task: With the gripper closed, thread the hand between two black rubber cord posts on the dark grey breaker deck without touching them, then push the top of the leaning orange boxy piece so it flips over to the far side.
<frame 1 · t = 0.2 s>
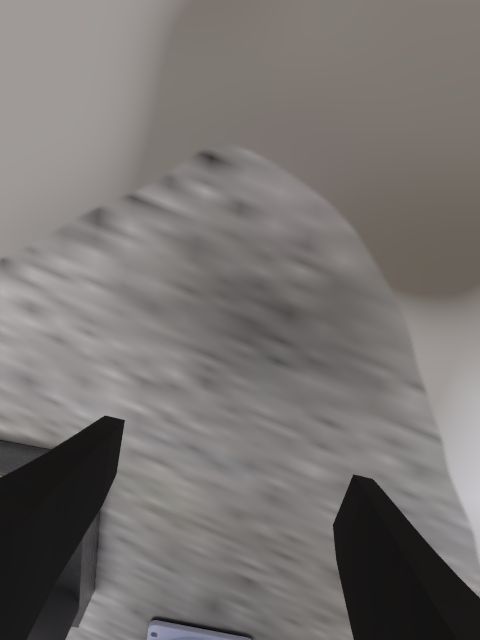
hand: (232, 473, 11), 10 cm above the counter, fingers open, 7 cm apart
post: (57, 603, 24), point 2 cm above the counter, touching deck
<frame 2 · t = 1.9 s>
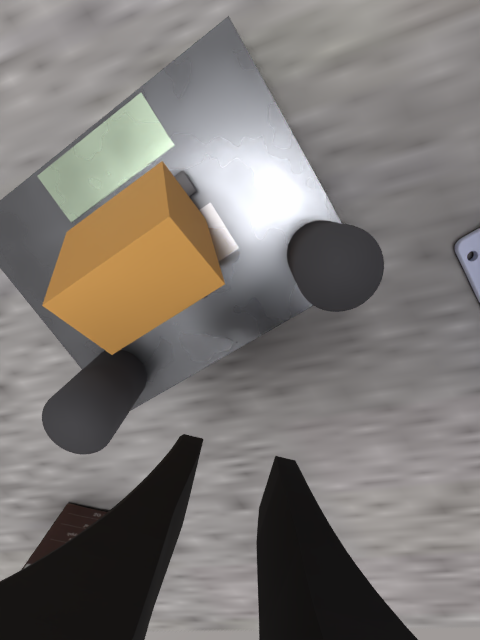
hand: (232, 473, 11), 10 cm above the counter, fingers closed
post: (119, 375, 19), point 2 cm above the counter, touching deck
orange boxy piece: (137, 246, 14), point 5 cm above the counter, hinge at -28.0°
deck: (177, 244, 19), on the counter
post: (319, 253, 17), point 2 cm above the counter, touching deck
box: (106, 527, 26), on the counter
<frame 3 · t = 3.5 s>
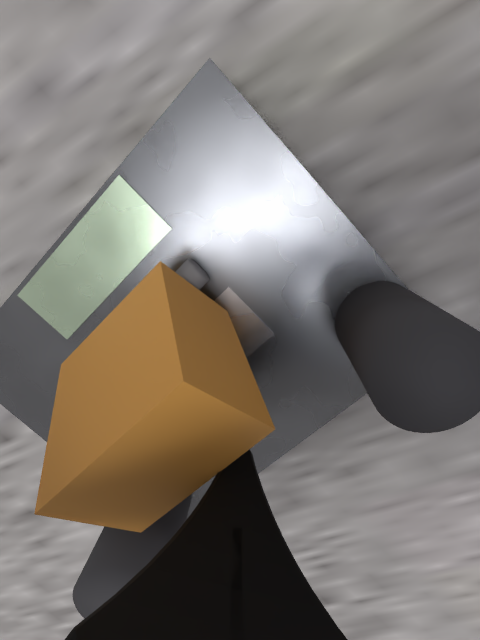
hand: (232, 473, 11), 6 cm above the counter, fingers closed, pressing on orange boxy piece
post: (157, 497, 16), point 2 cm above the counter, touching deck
orange boxy piece: (149, 375, 11), point 5 cm above the counter, hinge at -27.2°, touching gripper
deck: (196, 329, 16), on the counter
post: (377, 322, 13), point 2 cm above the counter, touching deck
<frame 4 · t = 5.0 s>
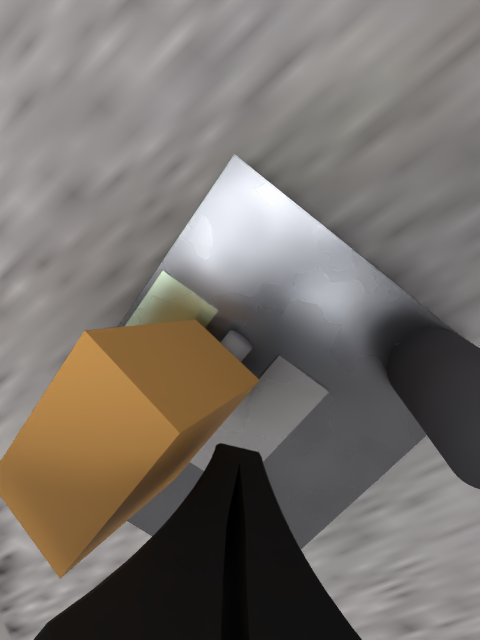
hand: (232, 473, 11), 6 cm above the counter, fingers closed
orange boxy piece: (154, 417, 11), point 6 cm above the counter, hinge at 22.4°
deck: (246, 388, 17), on the counter
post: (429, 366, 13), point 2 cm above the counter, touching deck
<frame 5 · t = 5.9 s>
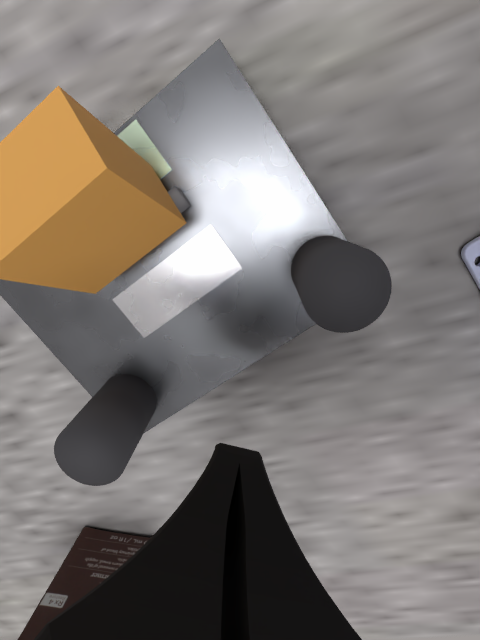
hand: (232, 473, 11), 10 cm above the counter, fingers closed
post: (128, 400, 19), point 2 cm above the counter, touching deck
orange boxy piece: (93, 217, 13), point 6 cm above the counter, hinge at 22.7°
deck: (179, 265, 19), on the counter
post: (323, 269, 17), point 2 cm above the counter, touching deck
box: (124, 548, 26), on the counter
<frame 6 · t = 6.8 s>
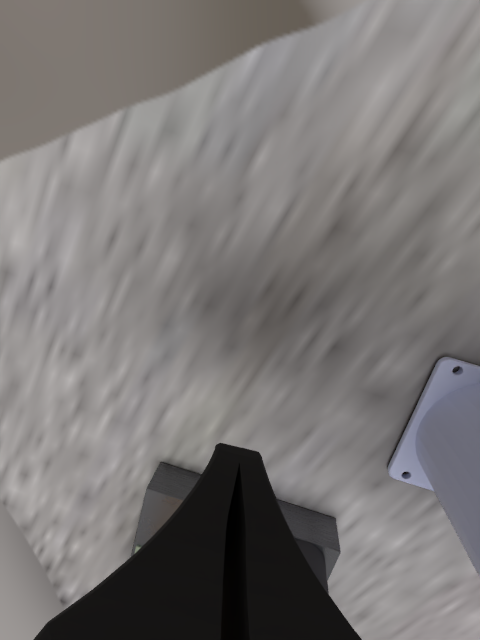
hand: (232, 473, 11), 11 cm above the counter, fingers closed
deck: (219, 571, 26), on the counter
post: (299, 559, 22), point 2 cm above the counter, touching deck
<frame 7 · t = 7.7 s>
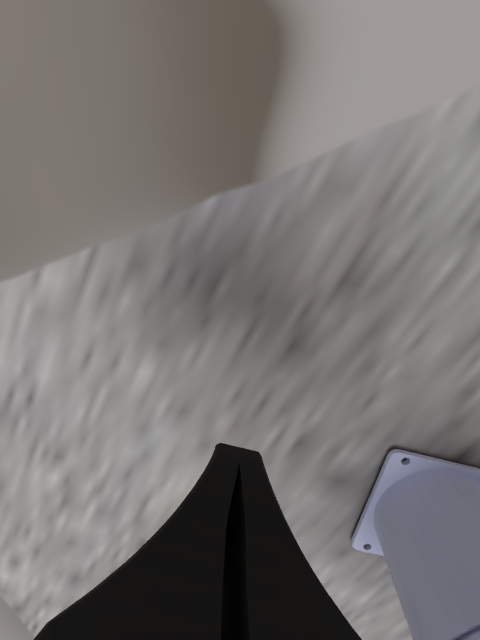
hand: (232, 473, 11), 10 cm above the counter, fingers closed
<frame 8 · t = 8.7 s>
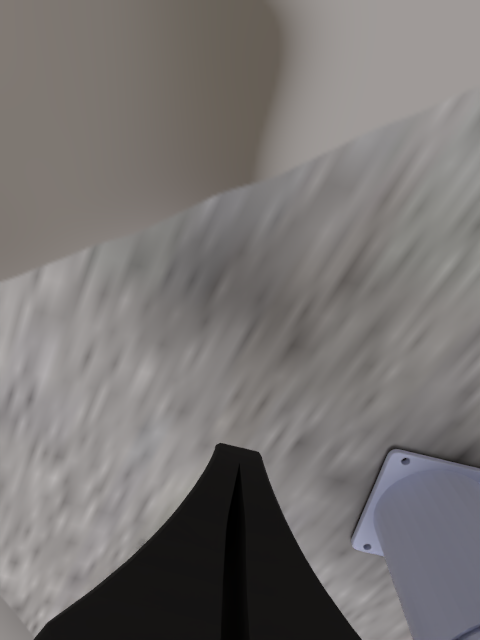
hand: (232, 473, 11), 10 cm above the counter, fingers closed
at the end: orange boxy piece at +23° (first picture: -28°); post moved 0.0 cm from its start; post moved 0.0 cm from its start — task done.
